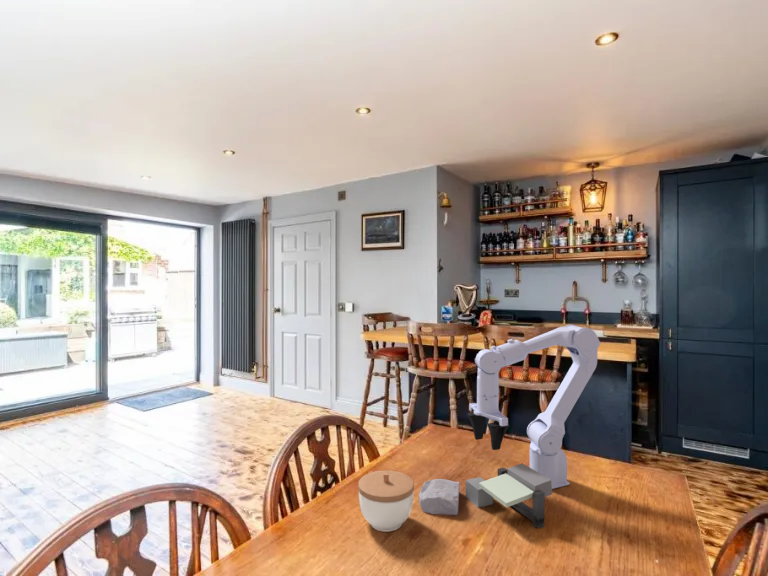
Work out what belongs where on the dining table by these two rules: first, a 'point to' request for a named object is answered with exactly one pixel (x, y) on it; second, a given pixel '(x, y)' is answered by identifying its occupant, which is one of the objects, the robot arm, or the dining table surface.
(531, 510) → the frame
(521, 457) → the dining table surface
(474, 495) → the grey rectangular block
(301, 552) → the dining table surface
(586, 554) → the dining table surface
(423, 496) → the stone block
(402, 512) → the lidded bowl
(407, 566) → the dining table surface
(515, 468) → the trapdoor
